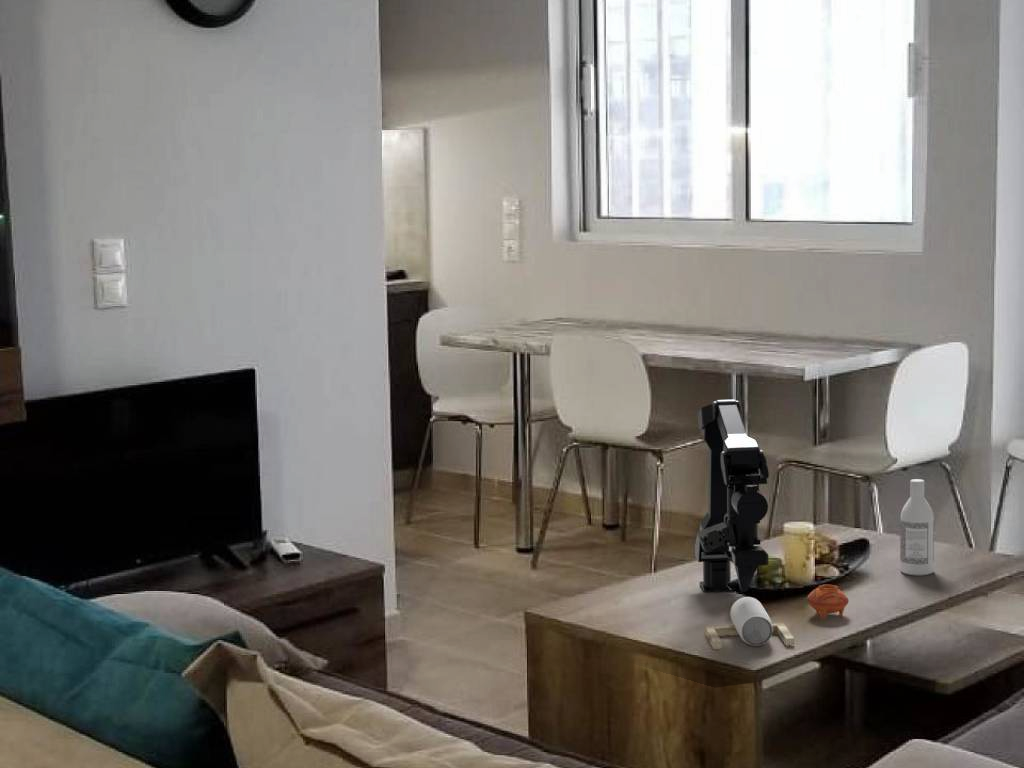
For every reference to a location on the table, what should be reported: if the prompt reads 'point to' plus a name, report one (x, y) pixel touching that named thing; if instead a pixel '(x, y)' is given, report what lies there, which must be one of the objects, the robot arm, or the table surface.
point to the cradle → (717, 631)
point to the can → (751, 621)
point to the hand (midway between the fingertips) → (743, 590)
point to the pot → (827, 600)
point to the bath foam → (917, 533)
